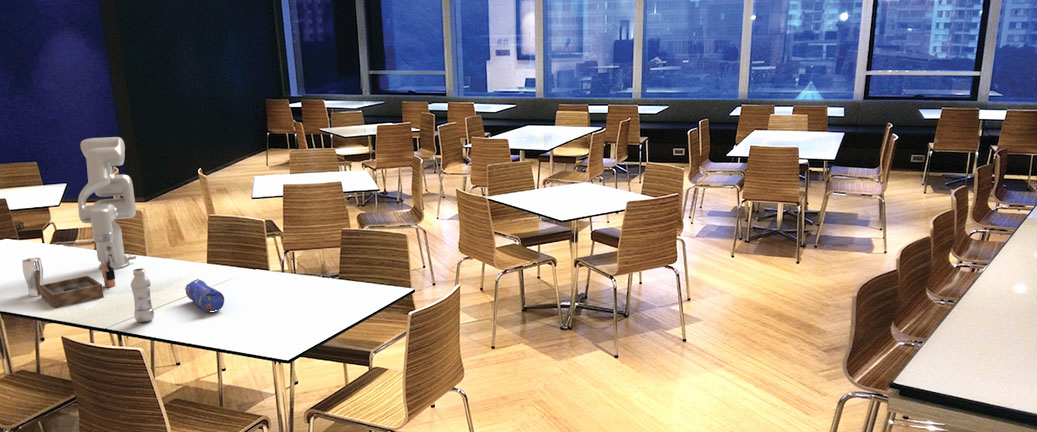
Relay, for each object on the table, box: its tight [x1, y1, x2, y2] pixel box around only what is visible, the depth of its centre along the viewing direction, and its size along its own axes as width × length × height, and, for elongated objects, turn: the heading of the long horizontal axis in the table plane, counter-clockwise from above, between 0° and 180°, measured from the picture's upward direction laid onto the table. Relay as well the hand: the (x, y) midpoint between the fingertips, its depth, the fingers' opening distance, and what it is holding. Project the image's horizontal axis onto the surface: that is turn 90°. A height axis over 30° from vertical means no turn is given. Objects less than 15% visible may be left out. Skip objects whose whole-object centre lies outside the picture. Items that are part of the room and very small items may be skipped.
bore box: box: [40, 275, 105, 309], centre depth 319 cm, size 18×18×6 cm
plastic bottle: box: [130, 268, 155, 323], centre depth 290 cm, size 6×7×20 cm
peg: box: [101, 263, 116, 288], centre depth 333 cm, size 4×4×12 cm
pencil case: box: [184, 278, 225, 313], centre depth 306 cm, size 22×9×10 cm, turn 39°
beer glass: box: [21, 257, 44, 298], centre depth 323 cm, size 7×7×15 cm
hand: (109, 278), depth 334 cm, fingers closed on peg, 4 cm apart
